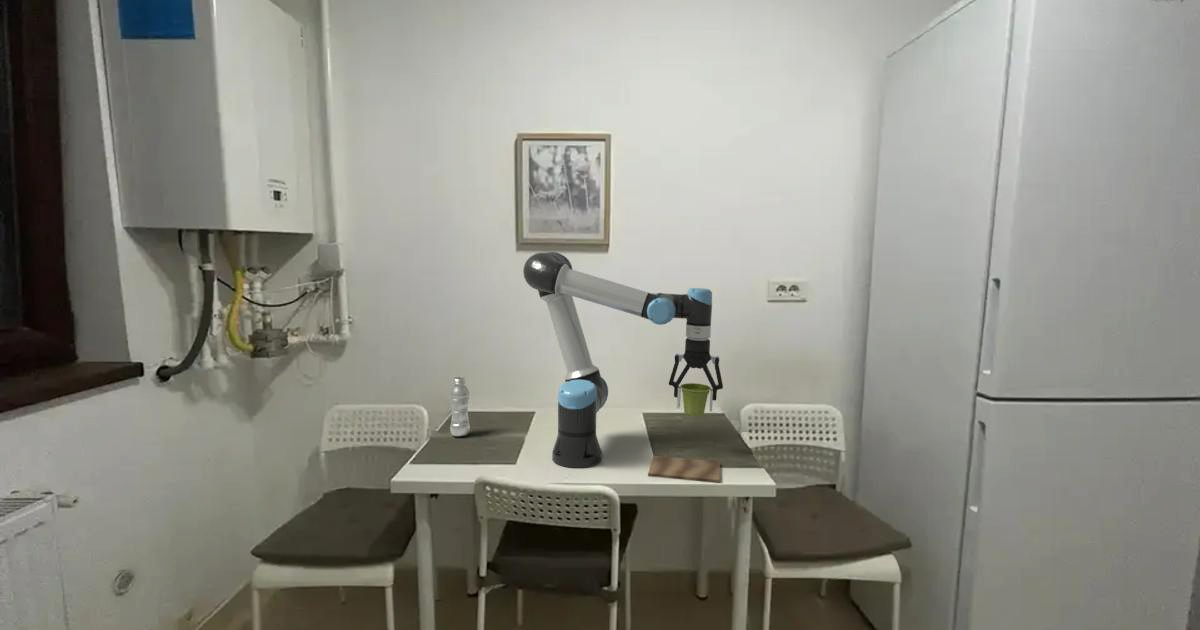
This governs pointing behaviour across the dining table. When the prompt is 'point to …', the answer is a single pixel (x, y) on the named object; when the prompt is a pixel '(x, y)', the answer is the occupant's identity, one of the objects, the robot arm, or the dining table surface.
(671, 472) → the walnut board
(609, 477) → the dining table surface
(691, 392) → the plant pot
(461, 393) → the plastic bottle
